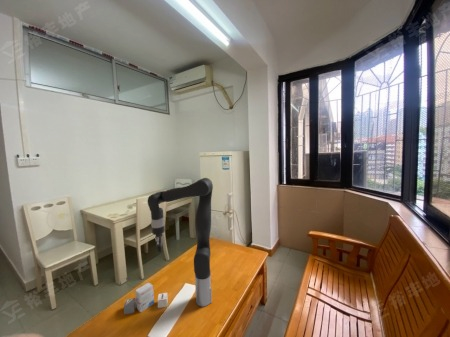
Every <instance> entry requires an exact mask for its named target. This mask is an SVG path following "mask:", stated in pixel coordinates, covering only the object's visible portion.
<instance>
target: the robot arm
mask: <svg viewBox="0 0 450 337" xmlns="http://www.w3.org/2000/svg"><path fill="white" fill-rule="evenodd" d="M213 188H214V185H213V182H212V180H211V179H210V178H208V177H203V178H200V179H199V180H197V181H196V182H194V183H191V184H189V185H186V186H183V187H174V188H171V189H166V190H163V191H162V190H161V191H158V192H155V193H152V194H150V195H149V196H148V197H147V205H148V208H149V209H148V210H149V211H150V215H151V216H150V217H151V220H150V223H151V233H152V235H155V238H154V239H155V246H156V248H157V252H158V253H161V252H162V251H163V250H162V249H163V247H162V243H163V233H165V230H166V229H165V218H164V217H165V216H164V210H163V208H162V207H160V204H161V203H162V204H163V203H170V202H174V201H178V200H181V199H186V198H191V197H198V198H199V199H198V205H197V209H196V211H195V221H194V222H195V225H194V226H195V233H196V239H197V243H196V249H195V253H194V256H193V271H194V280H195V284H194V285H195V304H197V305H198V307H202V308H203V307H207V306H208V305H210V304H211V303H213V302H212V298H213V297H212V296H213V295H212V284H211V282H212V281H211V279H212V278H211V263H210V262H211V244H210V238H211V230H212V198H213V197H212V196H213Z"/></svg>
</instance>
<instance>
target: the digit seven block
mask: <svg viewBox="0 0 450 337" xmlns="http://www.w3.org/2000/svg"><path fill="white" fill-rule="evenodd" d="M136 309H137V305H136V297H133V298H128V299H125V303H124V304H123V314H124V315H130V314H134V313H135V310H136Z"/></svg>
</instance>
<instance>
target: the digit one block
mask: <svg viewBox="0 0 450 337" xmlns="http://www.w3.org/2000/svg"><path fill="white" fill-rule="evenodd" d="M168 302H169V300H168V292H163V293H158V296H157V309H161V308H166V307H168Z"/></svg>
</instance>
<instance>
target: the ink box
mask: <svg viewBox="0 0 450 337" xmlns="http://www.w3.org/2000/svg"><path fill="white" fill-rule="evenodd" d="M134 293H135V298H136V309H137V310H138V312H139V313H142V312H144V311H146V310H147V309H148V308H149V307H151V306H152V305H154V304H155V297H154V296H155V294H154V285H153V284H152V283H150V282H147V283H145V284H144V285H142V286H140V287H138V288H137V289H135V292H134Z"/></svg>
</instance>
